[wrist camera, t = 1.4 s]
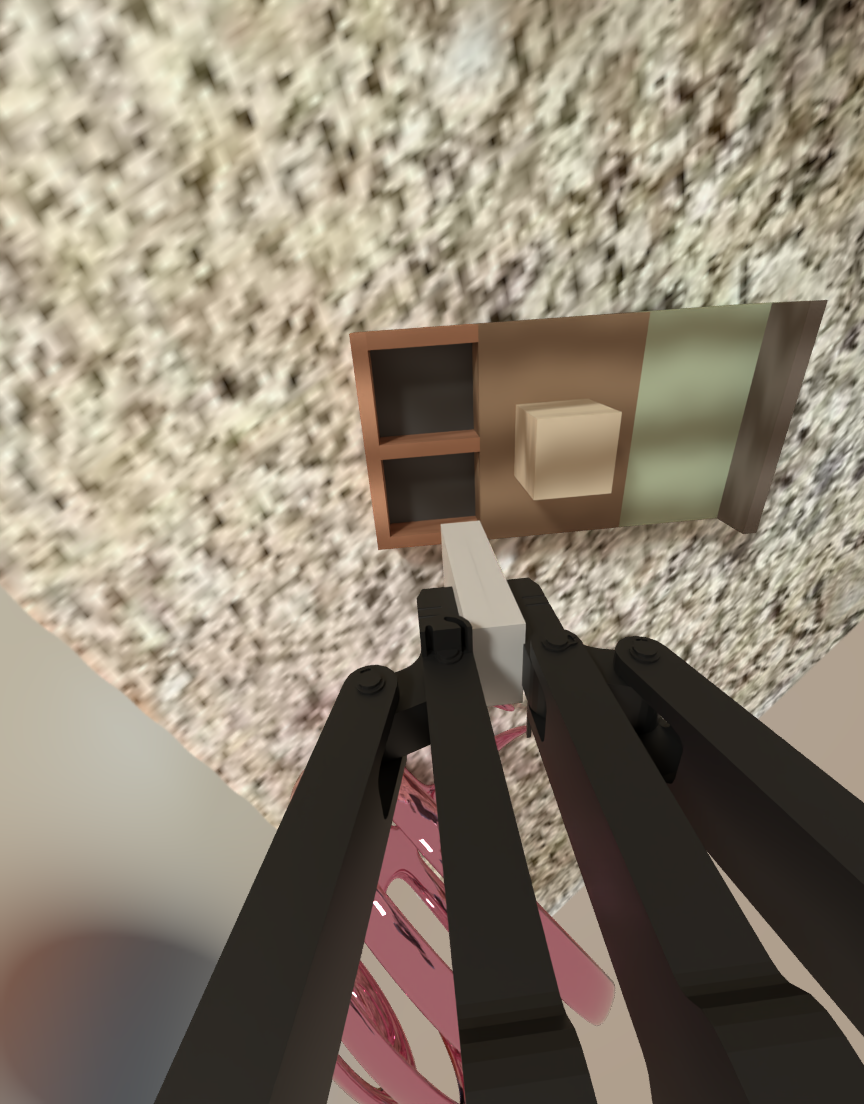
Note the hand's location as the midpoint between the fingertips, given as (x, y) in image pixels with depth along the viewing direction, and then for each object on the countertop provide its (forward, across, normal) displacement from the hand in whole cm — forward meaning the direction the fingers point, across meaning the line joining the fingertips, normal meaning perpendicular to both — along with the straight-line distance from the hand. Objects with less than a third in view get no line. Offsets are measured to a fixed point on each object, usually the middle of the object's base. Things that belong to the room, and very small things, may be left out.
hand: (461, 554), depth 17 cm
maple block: (+16, +8, 0) cm, 18 cm away
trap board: (+19, +10, 0) cm, 21 cm away
